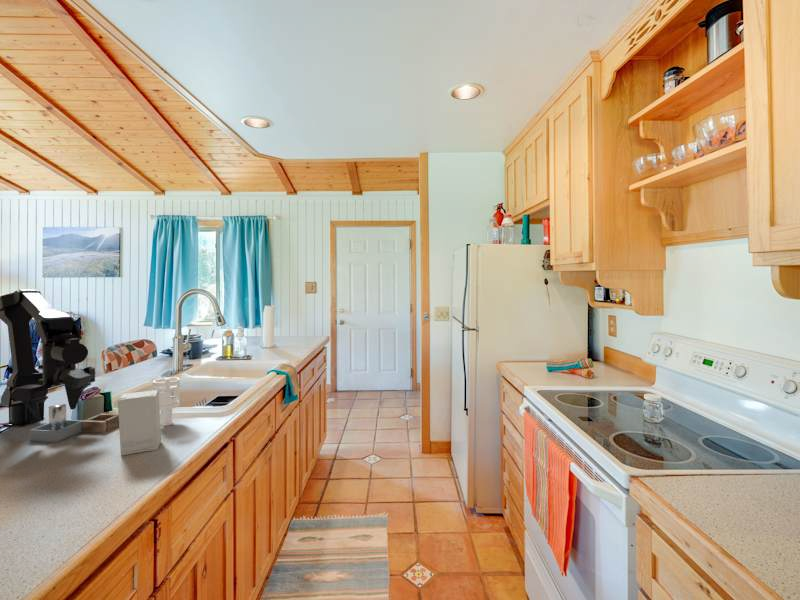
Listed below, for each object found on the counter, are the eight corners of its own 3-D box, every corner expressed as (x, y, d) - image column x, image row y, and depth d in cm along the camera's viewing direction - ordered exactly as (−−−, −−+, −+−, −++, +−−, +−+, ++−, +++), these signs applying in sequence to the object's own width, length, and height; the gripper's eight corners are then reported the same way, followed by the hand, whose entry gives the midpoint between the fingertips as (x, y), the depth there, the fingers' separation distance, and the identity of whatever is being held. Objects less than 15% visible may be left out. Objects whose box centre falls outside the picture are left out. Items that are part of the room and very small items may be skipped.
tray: (29, 440, 98) (29, 430, 98) (58, 429, 106) (58, 419, 106) (57, 441, 98) (57, 431, 98) (83, 430, 106) (83, 420, 106)
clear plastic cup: (153, 430, 107) (153, 380, 107) (151, 422, 113) (151, 375, 112) (181, 424, 112) (181, 377, 111) (178, 418, 117) (177, 372, 117)
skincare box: (161, 441, 99) (161, 388, 99) (157, 451, 94) (157, 394, 94) (123, 447, 96) (123, 392, 95) (117, 457, 90) (117, 398, 90)
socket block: (81, 431, 105) (81, 421, 105) (101, 422, 112) (101, 413, 112) (103, 432, 105) (103, 422, 105) (121, 423, 111) (121, 414, 111)
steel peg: (45, 436, 100) (45, 407, 100) (58, 431, 104) (57, 403, 104) (57, 436, 100) (57, 408, 100) (69, 431, 104) (69, 404, 103)
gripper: (50, 368, 92) (51, 428, 92) (112, 354, 110) (112, 404, 111) (8, 367, 92) (10, 427, 93) (77, 353, 111) (77, 403, 111)
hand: (57, 414), depth 102 cm, fingers open, 9 cm apart
